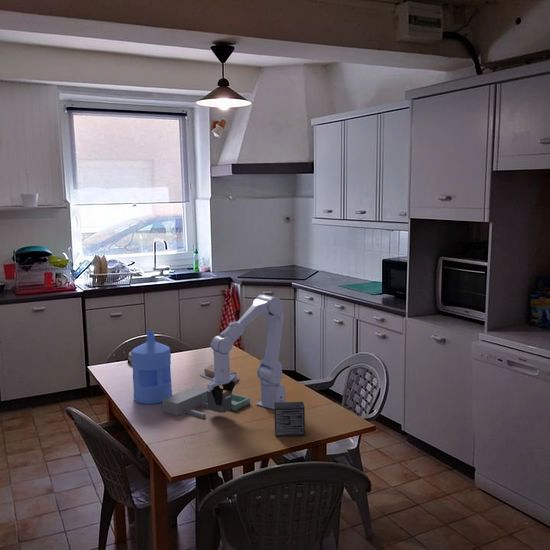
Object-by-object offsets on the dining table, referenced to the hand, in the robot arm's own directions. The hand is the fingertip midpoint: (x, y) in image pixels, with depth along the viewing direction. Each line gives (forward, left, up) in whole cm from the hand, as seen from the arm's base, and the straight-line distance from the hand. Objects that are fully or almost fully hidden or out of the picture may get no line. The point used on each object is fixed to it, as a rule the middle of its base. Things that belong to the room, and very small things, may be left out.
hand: (222, 402), depth 217 cm
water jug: (+38, +1, -6) cm, 38 cm away
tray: (+7, -12, -6) cm, 15 cm away
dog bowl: (+80, -32, -6) cm, 86 cm away
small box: (-28, -3, -6) cm, 29 cm away
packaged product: (+32, -34, -6) cm, 47 cm away
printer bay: (+14, 0, -6) cm, 15 cm away
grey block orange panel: (+2, 0, -3) cm, 3 cm away
